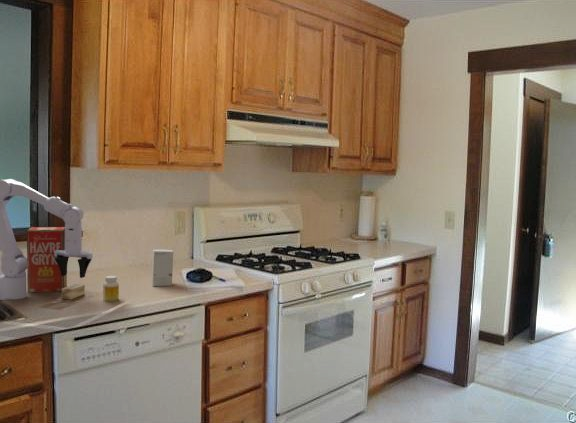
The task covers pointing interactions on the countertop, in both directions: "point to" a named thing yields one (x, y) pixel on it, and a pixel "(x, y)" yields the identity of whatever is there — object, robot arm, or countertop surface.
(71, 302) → the marked board
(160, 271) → the skincare box
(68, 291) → the block
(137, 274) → the countertop surface
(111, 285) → the supplement bottle
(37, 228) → the food packaging
